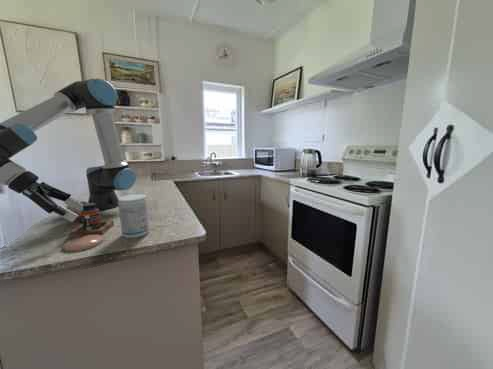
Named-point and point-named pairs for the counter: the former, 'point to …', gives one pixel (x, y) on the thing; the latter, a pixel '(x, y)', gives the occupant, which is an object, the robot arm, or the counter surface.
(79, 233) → the holder
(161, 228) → the counter surface
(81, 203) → the decorative fruit
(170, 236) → the counter surface
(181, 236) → the counter surface
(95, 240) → the peach dome coaster
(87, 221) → the supplement bottle
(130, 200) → the supplement tub
